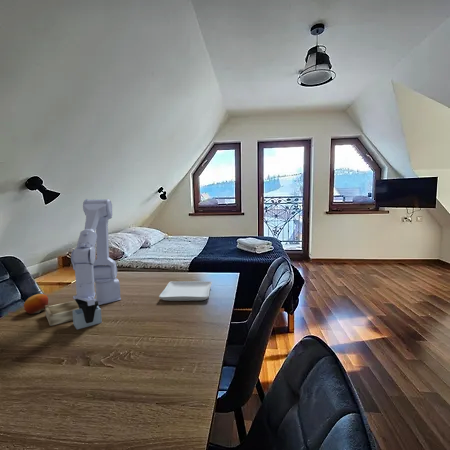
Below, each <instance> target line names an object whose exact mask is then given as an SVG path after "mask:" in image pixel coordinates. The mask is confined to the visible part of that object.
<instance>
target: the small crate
mask: <svg viewBox="0 0 450 450" xmlns="http://www.w3.org/2000/svg"><path fill="white" fill-rule="evenodd" d="M72 323H73V326H74V328H75V329H76V330H81V329H85V328H88V327H92V326H94V325H99V324H102V323H103V321H102V308H101V307H100V305H98V306H97V308H96V310H95V314H94V320H93V322H90V323H86V321H85V318H84V313H83V311H82V309H76V310H73V320H72Z"/></svg>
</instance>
